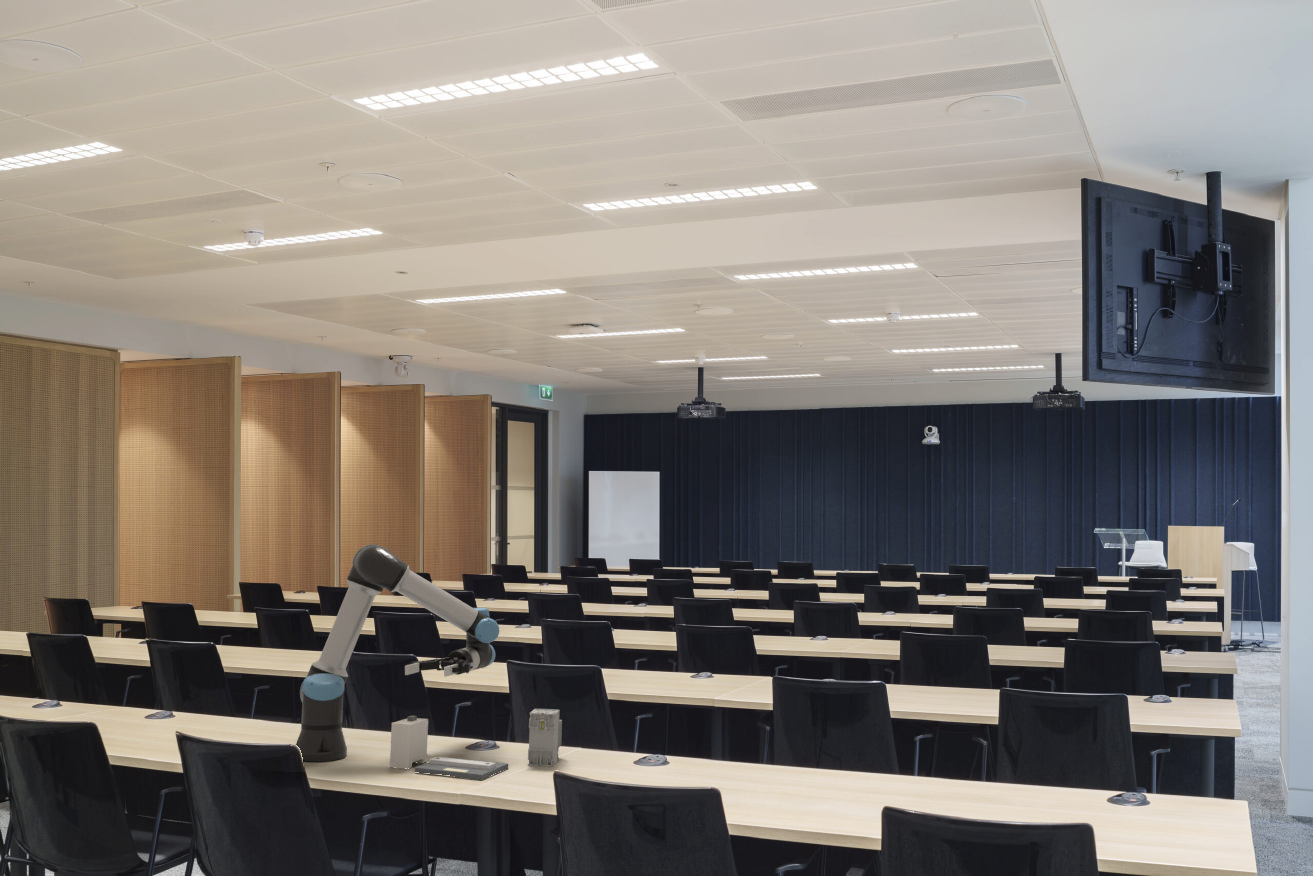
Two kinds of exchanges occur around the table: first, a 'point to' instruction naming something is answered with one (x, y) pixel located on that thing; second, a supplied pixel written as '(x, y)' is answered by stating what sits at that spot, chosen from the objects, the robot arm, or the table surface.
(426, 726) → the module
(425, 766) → the panel
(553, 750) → the circuit breaker
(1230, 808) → the table surface
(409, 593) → the robot arm
